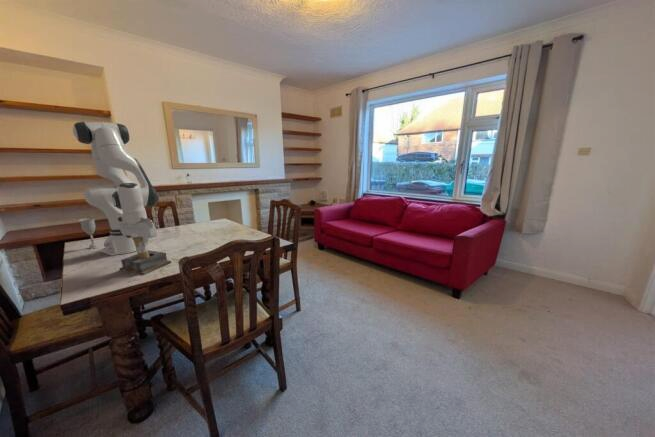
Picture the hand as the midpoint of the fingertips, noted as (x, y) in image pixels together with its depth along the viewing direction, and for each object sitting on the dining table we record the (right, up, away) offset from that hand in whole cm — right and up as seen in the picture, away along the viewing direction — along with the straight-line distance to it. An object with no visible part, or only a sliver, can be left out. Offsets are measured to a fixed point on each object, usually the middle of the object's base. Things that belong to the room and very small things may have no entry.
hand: (141, 244), depth 123 cm
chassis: (0, -11, +3) cm, 12 cm away
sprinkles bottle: (+1, -7, +1) cm, 7 cm away
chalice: (-53, -5, +32) cm, 62 cm away
